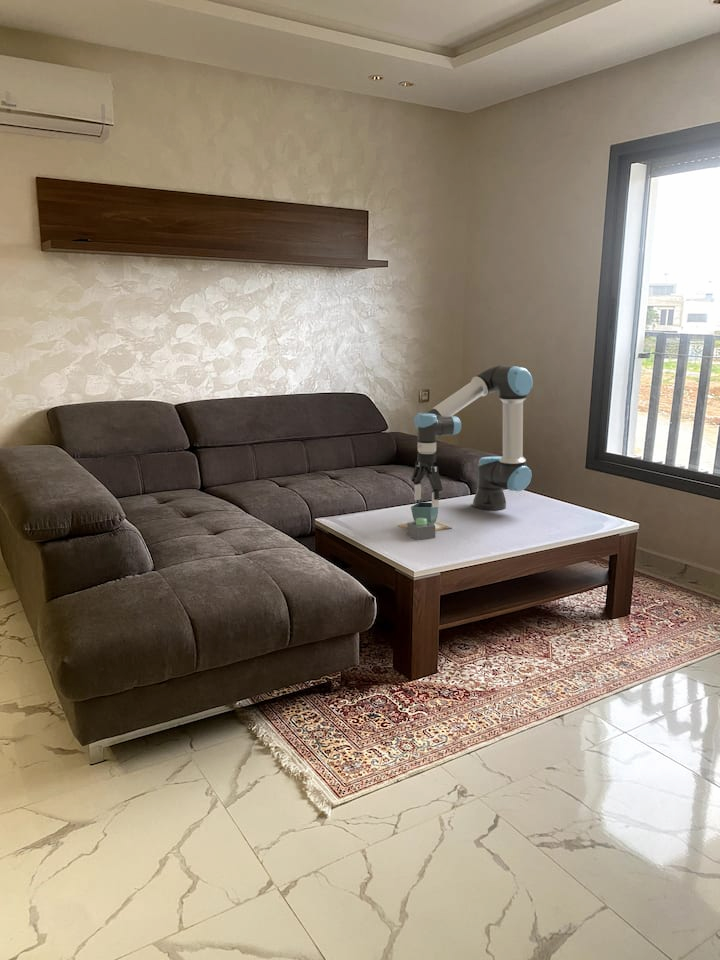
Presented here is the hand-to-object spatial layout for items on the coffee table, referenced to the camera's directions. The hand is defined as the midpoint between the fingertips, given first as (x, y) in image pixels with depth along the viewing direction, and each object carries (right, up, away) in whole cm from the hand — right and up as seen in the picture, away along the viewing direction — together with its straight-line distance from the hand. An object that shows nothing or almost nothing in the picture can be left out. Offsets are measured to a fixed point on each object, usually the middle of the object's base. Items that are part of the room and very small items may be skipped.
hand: (426, 503), depth 308 cm
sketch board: (-1, -10, +2) cm, 10 cm away
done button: (-3, -11, -11) cm, 16 cm away
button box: (-3, -13, -11) cm, 17 cm away
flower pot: (0, -9, 0) cm, 10 cm away
